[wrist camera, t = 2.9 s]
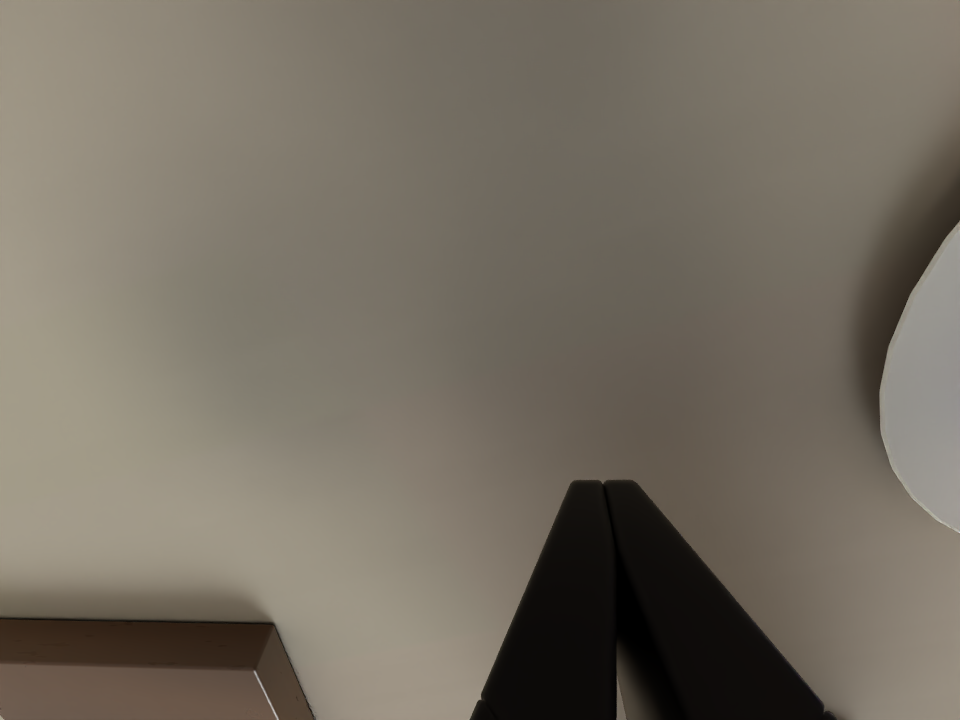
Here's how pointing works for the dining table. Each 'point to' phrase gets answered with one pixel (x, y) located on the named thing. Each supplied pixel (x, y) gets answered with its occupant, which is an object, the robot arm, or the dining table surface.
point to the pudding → (927, 389)
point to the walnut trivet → (145, 672)
